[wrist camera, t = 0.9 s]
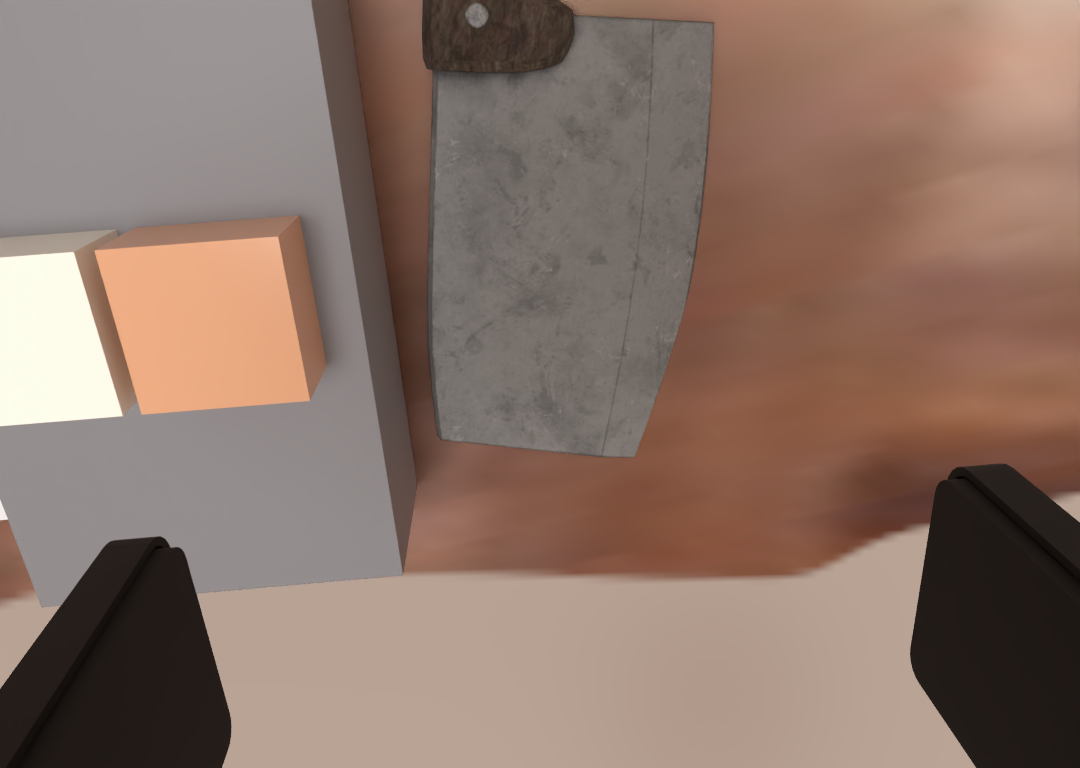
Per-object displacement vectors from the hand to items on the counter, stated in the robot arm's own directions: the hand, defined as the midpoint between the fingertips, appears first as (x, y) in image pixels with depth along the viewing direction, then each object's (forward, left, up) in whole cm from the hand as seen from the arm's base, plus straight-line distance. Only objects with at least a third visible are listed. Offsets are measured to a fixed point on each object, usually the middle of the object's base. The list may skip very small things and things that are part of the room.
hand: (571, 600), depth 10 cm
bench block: (+11, 0, -21) cm, 23 cm away
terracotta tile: (+8, 0, -15) cm, 17 cm away
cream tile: (+13, 0, -15) cm, 20 cm away
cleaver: (-2, -5, -21) cm, 22 cm away
